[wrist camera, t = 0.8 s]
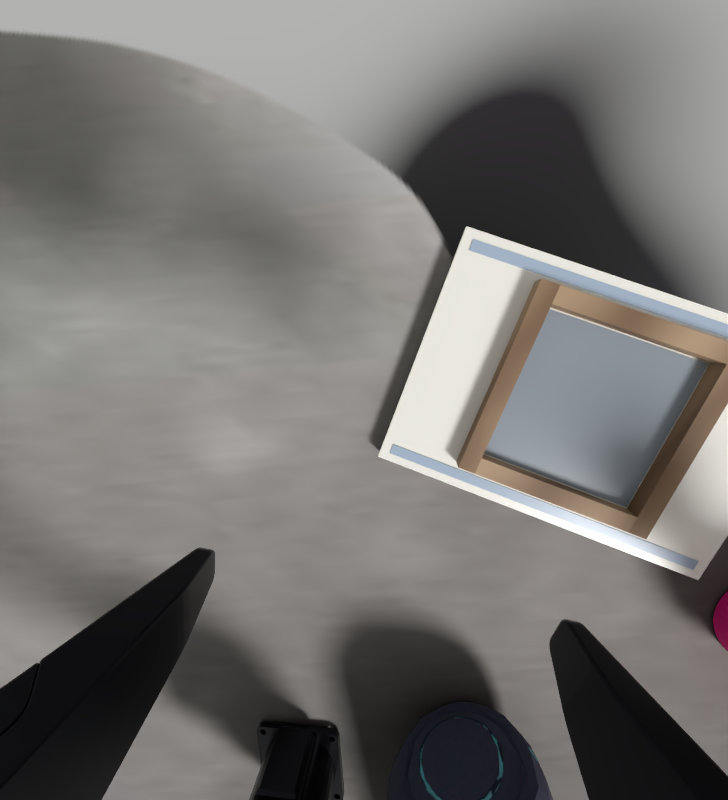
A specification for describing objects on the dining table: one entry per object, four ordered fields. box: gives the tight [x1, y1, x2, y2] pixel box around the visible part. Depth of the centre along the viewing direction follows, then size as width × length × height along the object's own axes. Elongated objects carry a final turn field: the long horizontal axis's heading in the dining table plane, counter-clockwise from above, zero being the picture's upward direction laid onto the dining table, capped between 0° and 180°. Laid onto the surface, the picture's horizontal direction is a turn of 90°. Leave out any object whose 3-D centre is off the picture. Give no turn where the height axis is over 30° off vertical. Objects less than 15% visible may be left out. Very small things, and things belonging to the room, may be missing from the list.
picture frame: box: [378, 226, 728, 580], centre depth 20 cm, size 20×14×1 cm
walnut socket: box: [456, 278, 728, 539], centre depth 19 cm, size 11×11×1 cm
